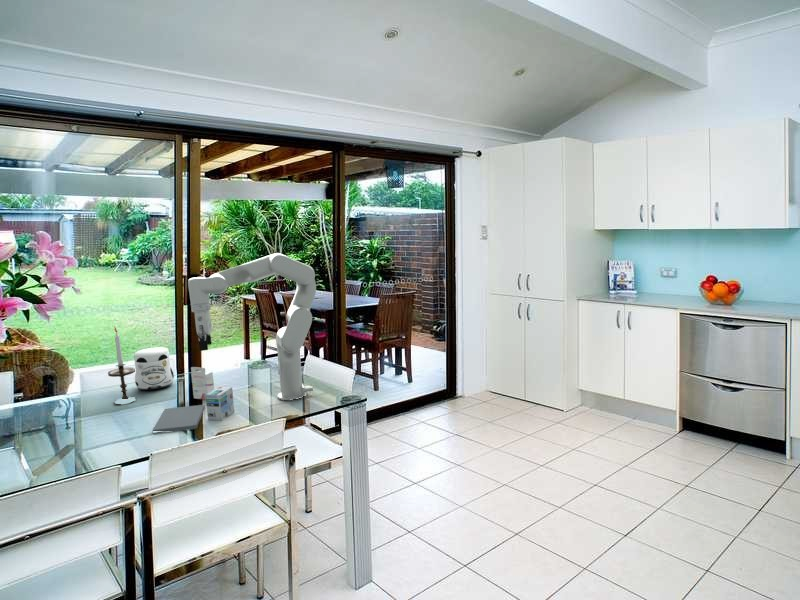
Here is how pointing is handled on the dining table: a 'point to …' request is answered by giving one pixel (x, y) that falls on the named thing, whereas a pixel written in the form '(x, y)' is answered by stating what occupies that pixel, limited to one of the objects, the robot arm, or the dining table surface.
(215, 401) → the light bulb box
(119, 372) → the candlestick
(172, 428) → the mat
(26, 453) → the dining table surface
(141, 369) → the milk container
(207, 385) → the ink cartridge box
